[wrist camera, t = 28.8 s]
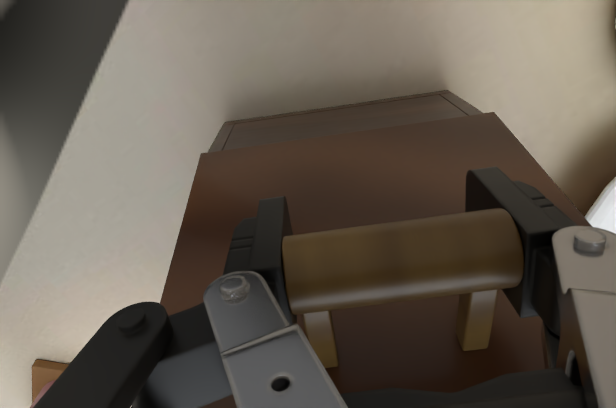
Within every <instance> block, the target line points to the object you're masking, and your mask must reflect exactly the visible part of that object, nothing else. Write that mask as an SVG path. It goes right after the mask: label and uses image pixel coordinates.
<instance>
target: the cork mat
mask: <svg viewBox="0 0 616 408" xmlns="http://www.w3.org/2000/svg"><path fill="white" fill-rule="evenodd" d="M68 365H69V364H63V363H57V362H50V361H44V360H38V359H37V360H36V361H35V362H34V364H33V365H32V404H33V402H34V400H35V399H36V397H37V396H38V394H39V393H40V391H41V390H42V388H43V387H44V386H45V385H46V384H47V383H49V382H51V381H53V380H56V379H57V378H58V377H59V376H60V375H61V374H62V372H63V371H64V370H65V369H66V368H67V367H68Z"/></svg>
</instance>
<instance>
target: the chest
mask: <svg viewBox="0 0 616 408" xmlns="http://www.w3.org/2000/svg"><path fill="white" fill-rule="evenodd" d="M476 114H483V113H482V112H481V111H479V110H478V109H476V108H475V107H473V106H472V105H470V104H469V103H467V102H466V101H464V100H463V99H461V98H459V97H458V96H456V95H455V94H453V93H451V92H450V91H448V90H446V91H439V92H432V93H425V94H418V95H411V96H404V97H397V98H390V99H383V100H376V101H370V102H363V103H356V104H349V105H342V106H335V107H328V108H321V109H314V110H307V111H300V112H293V113H286V114H279V115H272V116H266V117H259V118H252V119H245V120H238V121H231V122H225V123H224V124H223V126H222V127H221V129H220V131H219V133H218V135H217V136H216V138H215V140H214V142H213V143H212V145H211V147H210V149H209V151H208V152H215V151H222V150H229V149H236V148H243V147H250V146H257V145H264V144H271V143H278V142H285V141H293V140H300V139H307V138H314V137H321V136H328V135H335V134H342V133H349V132H356V131H363V130H370V129H377V128H384V127H391V126H398V125H406V124H413V123H420V122H427V121H434V120H441V119H448V118H455V117H462V116H469V115H476ZM208 152H207V153H208Z"/></svg>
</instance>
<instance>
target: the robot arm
mask: <svg viewBox="0 0 616 408" xmlns="http://www.w3.org/2000/svg"><path fill="white" fill-rule="evenodd" d="M494 208H502V209H505V210H506V211H507V212H508V213H509V214H510V215H511V217H512V218H513V220H514V222H515V224H516V226H517V228H518V231H519V234H520V237H521V241H522V246H523V252H524V273H523V278H522V280H521V282H520V284H519V285H518V286H516V287H514V288H506V289H502V291H503V292H504V294H505V295H506V297H507V298H508V300H509V301H510V303H511V304H512V306H513V307H514V309H515V310H516V312H517V314H518V315H519V317H520V318H527V317H535V316H540V317H541V319H542V328H541V341H542V349H543V356H544V364H545V369H543V370H535V371H526V372H518V373H510V374H504V375H502V376H499V377H496V378H493V379H491V380H488V381H485V382H483V383H480V384H477V385H474V386H472V387H469V388H466V389H464V390H461V391H458V392H454V393H444V392H434V391H423V390H413V389H402V388H384V389H376V390H367V391H359V392H351V393H342V394H340V393H339V392H338V390H337V388H336V387H335V385H334V383H333V382H332V380H331V378H330V376H329V375H328V373H327V371H326V370H325V368H324V366H323V365H322V363H321V361H320V360H319V358H318V356H317V354H316V353H315V351H314V349H313V348H312V346H311V344H310V343H309V341H308V339H307V338H306V336H305V334H304V332H303V331H302V329H301V328H300V326H299V325H298V324H297V315H293V314H292V313H291V311H290V308H289V304H288V300H287V295H286V289H285V282H284V274H283V263H282V240H283V237H285V236H290V235H293V232H292V226H291V221H290V216H289V210H288V205H287V200H286V197H285V196H280V197H273V198H266V199H260V200H259V206H258V211H257V217H250V218H244V219H243V220H242V221H241V222H240V223H239V224H238V225H237V226H236V227H235V228H234V231H233V235H232V241H231V243H230V247H229V249H230V250H229V251H228V255H227V259H226V263H225V267H224V271H223V275H222V276H221V277H219V278H217V279H216V280H214V281H213V282H212V283H211V284H210V285H209V286H208V287H207V288H206V290H205V292H204V295H203V300H204V302H202V303H201V304H199V305H197V306H194V307H192V308H189V309H186V310H184V311H181V312H178V313H175V314H172V315H169V316H168V314H167V311H166V309H165V307H164V306H163V305H161V304H159V303H156V302H141V303H137V304H133V305H130V306H128V307H126V308H123V309H122V310H120V311H118V312H116V313H115V314H114V315H112V316H111V317H110V318H109V319H108V320H107V321H106V322H105V323H104V324H103V325H102V326H101V327H100V329H99V330H98V331H97V332H96V333H95V335H94V336H93V337H92V338H91V339H90V341H89V342H88V343H87V344H86V345H85V346H84V348H83V349H82V350H81V351H80V352H79V354H78V355H77V356H76V357H75V358H74V359H73V361H72V362H71V363H70V364H69V365H68V367H67V368H66V369H65V370H64V371H63V372H62V374H61V375H60V376H59V377H58V378H57V380H56V381H55V382H54V383H53V384H52V385H51V387H50V388H49V389H48V390H47V391H46V393H45V394H44V395H43V396H42V397H41V399H40V400H39V401H38V402H37V403H36V404H35V406H34V407H33V408H130V407H131V405H132V407H131V408H200V407H203V406H205V405H208V404H210V403H213V402H215V401H218V400H220V399H222V398H225V397H227V396H230V395H232V394H233V396H234V399H235V403H236V406H237V408H616V234H615V233H613V232H610V231H608V230H605V229H601V228H597V227H590V226H578V225H577V224H576V223H575V222H574V221H573V220H571V219H570V218H569V217H568V216H567V215H566V214H565V213H564V212H562V211H561V210H560V209H559V208H558V207H557V206H554V204H553V203H552V202H551V201H550V200H549V199H548V198H545V196H544V195H543V194H542V193H541V192H540V191H539V190H538V189H536V188H535V187H533V186H531V185H528V184H526V183H523V182H521V181H519V180H518V181H512V180H511V179H510V178H509V177H508V176H507V175H506V174H504V173H503V172H502V171H501V170H500V169H499V168H498V167H496V166H495V167H488V168H480V169H473V170H469V171H468V172H467V174H466V195H465V212H471V211H479V210H486V209H494Z"/></svg>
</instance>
